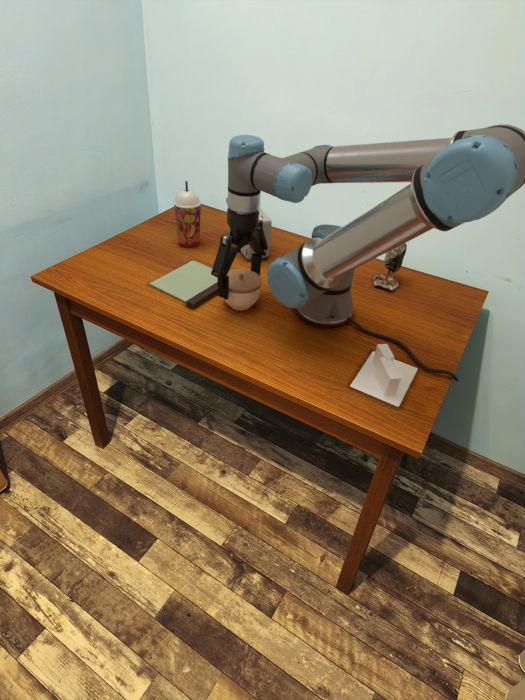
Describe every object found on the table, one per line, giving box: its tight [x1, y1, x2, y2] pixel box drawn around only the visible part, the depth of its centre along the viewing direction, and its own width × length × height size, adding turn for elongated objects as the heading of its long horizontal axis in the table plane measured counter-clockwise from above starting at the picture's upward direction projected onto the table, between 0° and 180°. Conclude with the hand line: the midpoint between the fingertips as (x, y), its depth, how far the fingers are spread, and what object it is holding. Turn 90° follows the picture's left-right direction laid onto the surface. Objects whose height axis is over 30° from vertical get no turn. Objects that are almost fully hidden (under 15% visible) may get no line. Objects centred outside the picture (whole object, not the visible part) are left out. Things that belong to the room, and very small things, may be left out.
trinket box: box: [223, 268, 263, 311], centre depth 120 cm, size 11×11×9 cm
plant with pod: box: [373, 241, 410, 291], centre depth 131 cm, size 8×11×20 cm
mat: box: [149, 259, 217, 304], centre depth 130 cm, size 14×18×1 cm
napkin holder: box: [349, 343, 419, 408], centre depth 102 cm, size 15×11×6 cm
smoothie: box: [172, 180, 202, 248], centre depth 142 cm, size 8×8×20 cm
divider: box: [185, 282, 218, 310], centre depth 126 cm, size 2×20×2 cm, turn 144°
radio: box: [225, 196, 273, 261], centre depth 143 cm, size 21×8×20 cm, turn 22°
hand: (239, 286), depth 120 cm, fingers open, 13 cm apart
